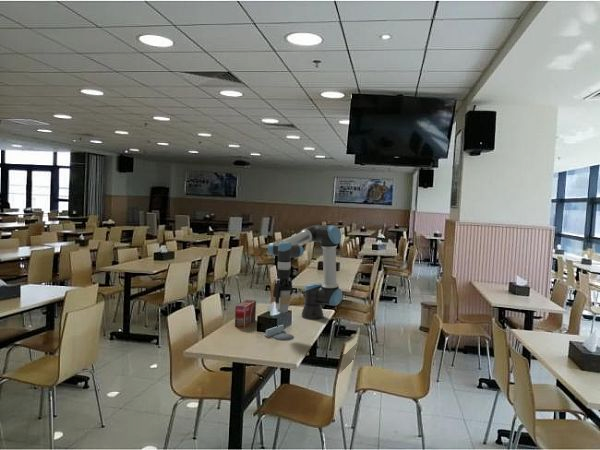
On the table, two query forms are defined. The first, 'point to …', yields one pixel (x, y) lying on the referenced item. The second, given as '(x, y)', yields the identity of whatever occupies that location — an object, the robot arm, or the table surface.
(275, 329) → the grey bar handle
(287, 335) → the coaster
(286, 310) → the coffee cup
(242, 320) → the ice cream box
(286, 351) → the table surface
